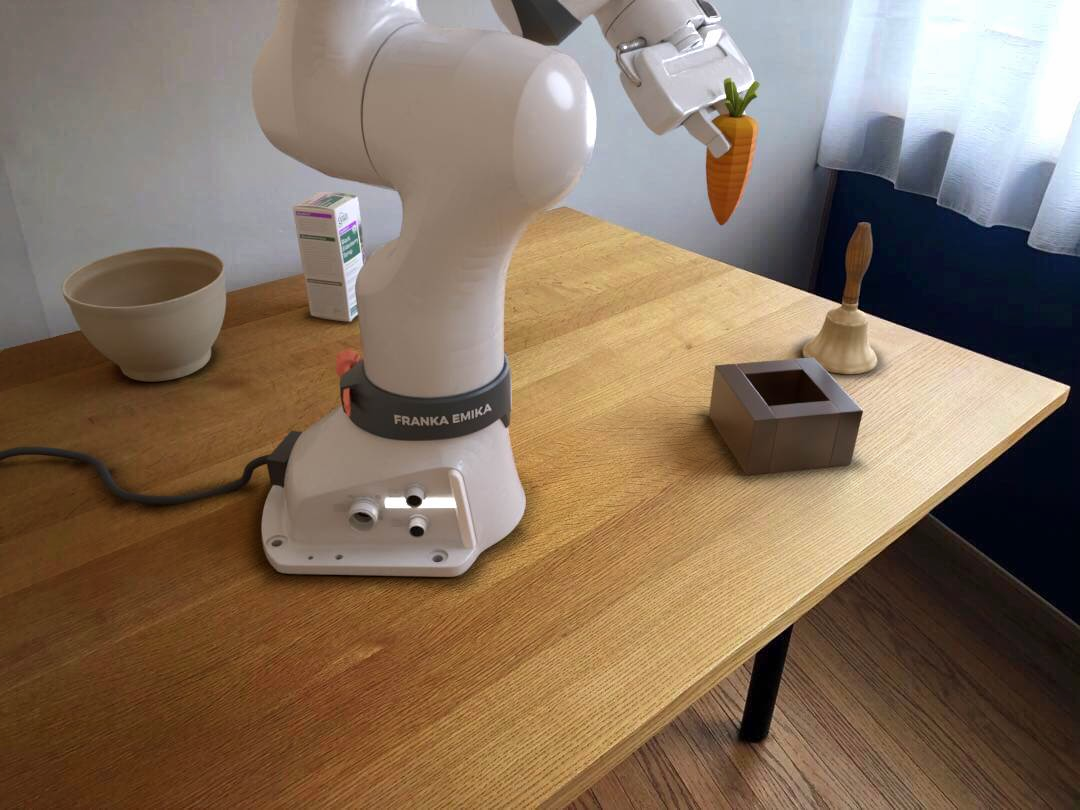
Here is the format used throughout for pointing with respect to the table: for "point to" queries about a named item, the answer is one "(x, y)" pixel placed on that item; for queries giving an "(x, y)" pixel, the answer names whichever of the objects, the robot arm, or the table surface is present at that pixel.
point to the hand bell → (847, 317)
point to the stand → (783, 415)
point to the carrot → (732, 153)
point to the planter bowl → (151, 309)
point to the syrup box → (330, 252)
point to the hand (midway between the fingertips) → (737, 146)
